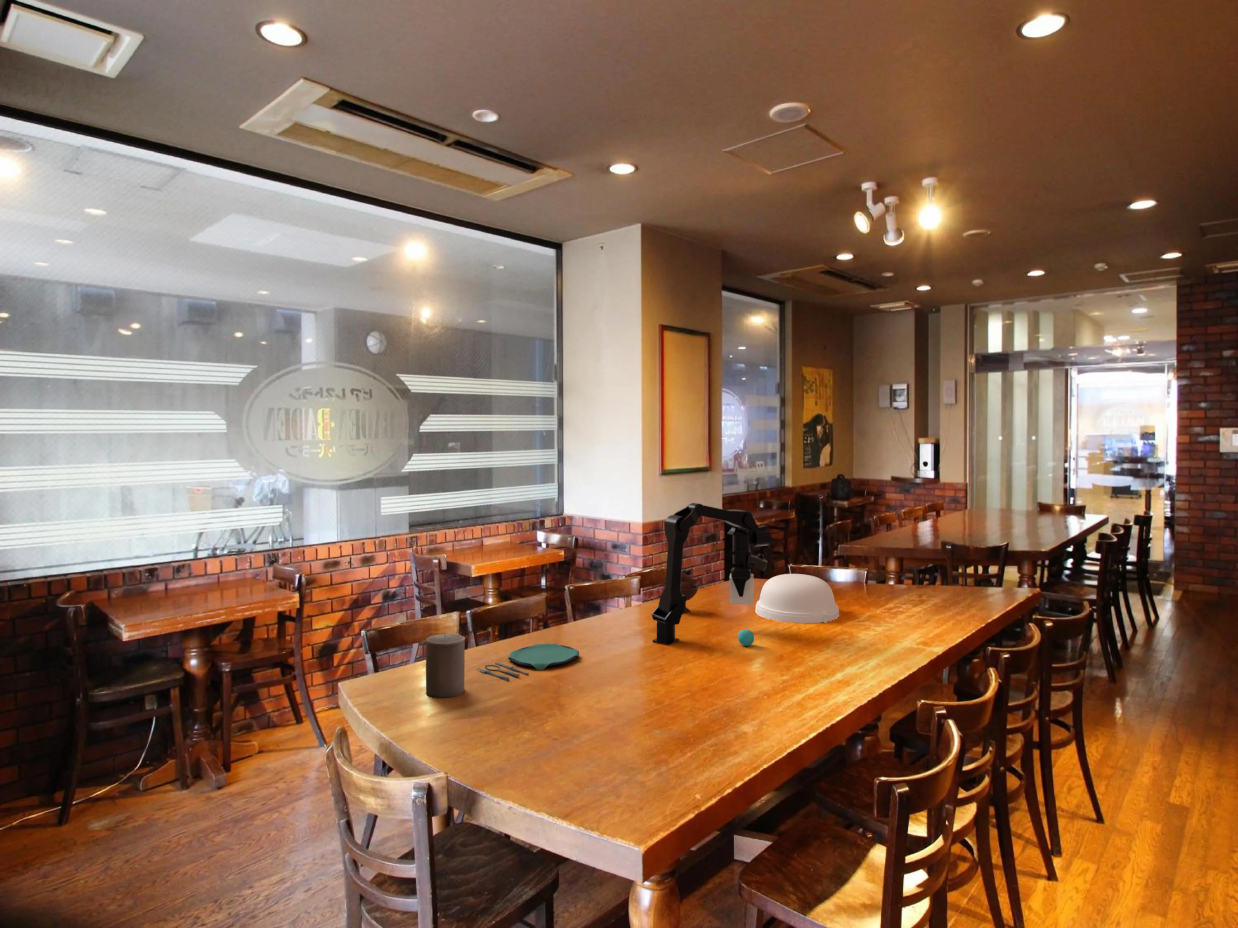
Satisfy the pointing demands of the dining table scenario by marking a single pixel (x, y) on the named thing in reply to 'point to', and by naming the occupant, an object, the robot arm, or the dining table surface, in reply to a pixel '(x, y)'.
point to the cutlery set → (535, 658)
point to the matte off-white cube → (747, 594)
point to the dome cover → (797, 600)
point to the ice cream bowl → (688, 588)
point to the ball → (746, 637)
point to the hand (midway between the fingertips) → (741, 594)
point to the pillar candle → (445, 665)
